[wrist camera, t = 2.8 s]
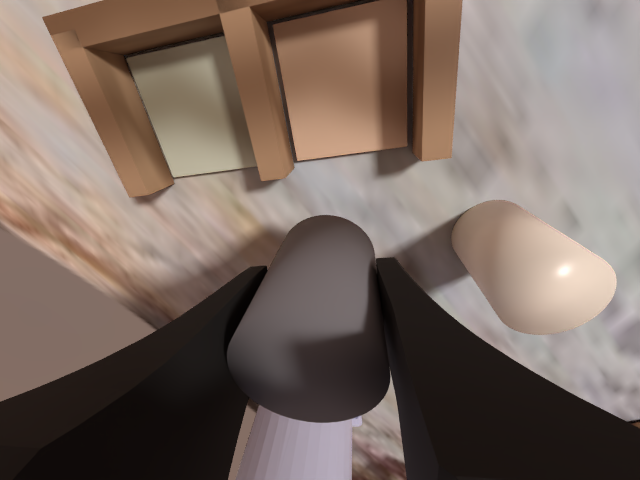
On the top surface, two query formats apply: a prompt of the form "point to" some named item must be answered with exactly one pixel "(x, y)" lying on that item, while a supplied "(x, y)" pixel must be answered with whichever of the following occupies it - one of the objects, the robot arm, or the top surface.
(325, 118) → the open-sided tray
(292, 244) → the charcoal plug
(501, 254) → the cream plug
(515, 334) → the top surface
